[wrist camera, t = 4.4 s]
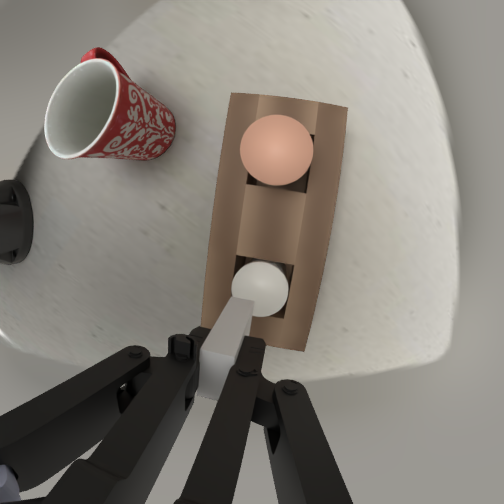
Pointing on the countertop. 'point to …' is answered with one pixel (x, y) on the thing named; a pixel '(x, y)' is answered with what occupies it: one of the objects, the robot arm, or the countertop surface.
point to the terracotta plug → (276, 150)
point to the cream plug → (262, 286)
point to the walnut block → (275, 216)
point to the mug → (105, 114)
